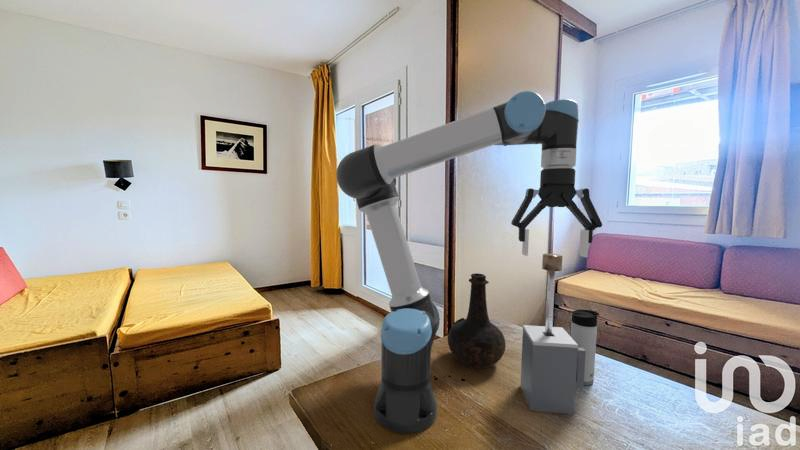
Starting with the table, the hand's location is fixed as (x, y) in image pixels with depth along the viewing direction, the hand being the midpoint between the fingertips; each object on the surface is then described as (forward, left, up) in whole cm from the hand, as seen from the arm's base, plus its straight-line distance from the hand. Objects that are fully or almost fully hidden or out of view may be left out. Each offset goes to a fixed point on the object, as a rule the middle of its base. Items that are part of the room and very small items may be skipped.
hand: (553, 255), depth 78 cm
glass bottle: (-16, +17, -38) cm, 44 cm away
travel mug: (+13, +11, -38) cm, 41 cm away
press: (+1, 0, -37) cm, 37 cm away
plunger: (0, 0, -23) cm, 23 cm away
